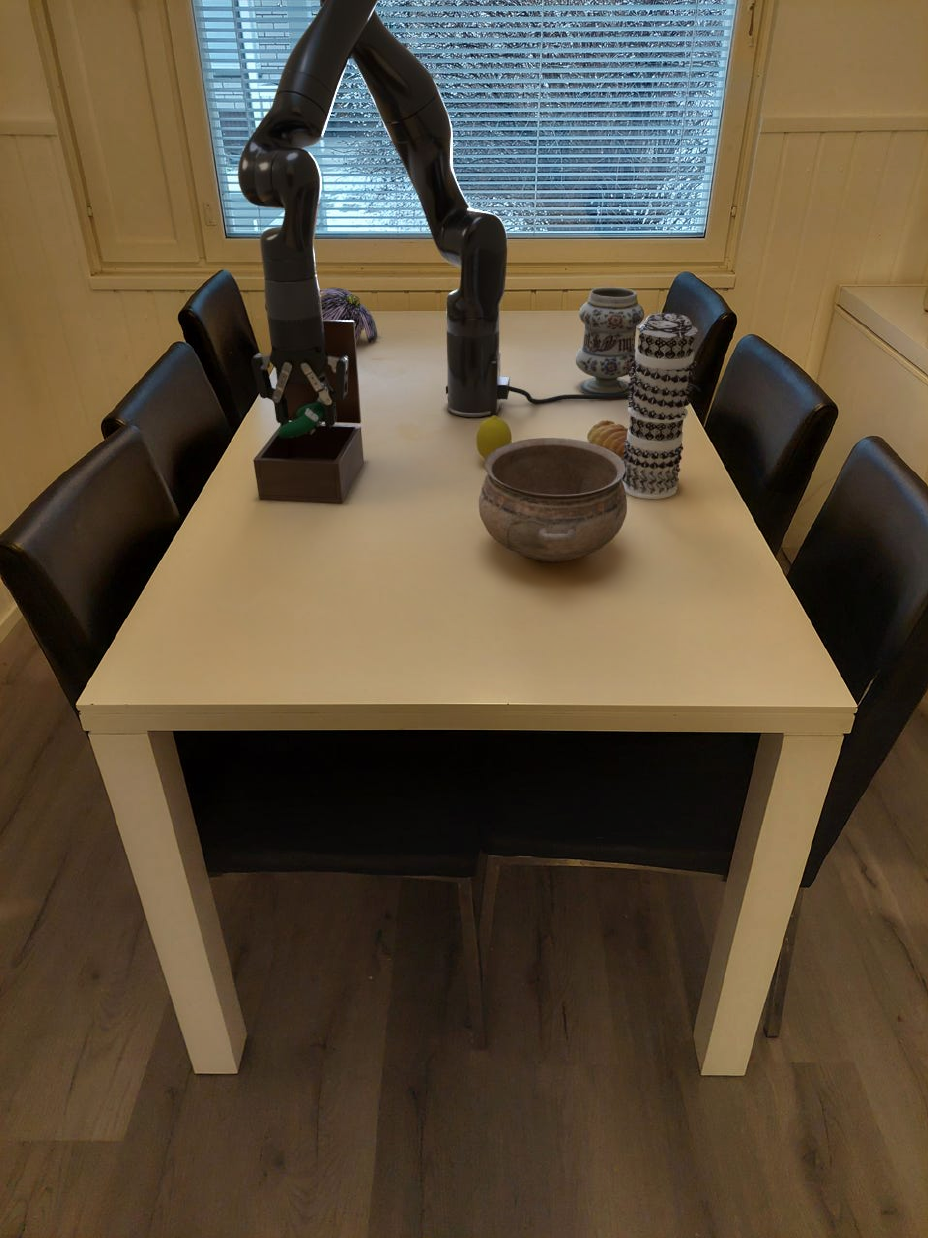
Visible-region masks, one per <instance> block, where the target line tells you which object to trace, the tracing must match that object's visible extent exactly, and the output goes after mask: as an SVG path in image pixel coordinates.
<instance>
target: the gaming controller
mask: <svg viewBox="0 0 928 1238" xmlns="http://www.w3.org/2000/svg"><path fill="white" fill-rule="evenodd" d="M323 405H324V402H323V400H322V398H321V397H320V396H319V398H318V399H317V400H316V402H315V403H313V404H309V405H305V406H303V407H301V408H300V409H299V410H298V411H297V413H296V415H297V417H298V419H295V420H293V421H289V422H288V423H286V424H285V425H283V426H282V427H281V428H280V429H279V430H278V431H279V437H280V438H282V439H286V438H293V437H297V436H300V435H303V434H305V433H307V434H308V433H310V432H311V433H310V434H312V433H313V432H314V431H315V429H314V430H313V428H314V427H315V426H316V425H318V426H317V427H319V426H320V425H321V424H323V422H320V421H321V419H322V418H323V417H324V410H323Z"/></svg>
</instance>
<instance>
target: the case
mask: <svg viewBox="0 0 928 1238" xmlns="http://www.w3.org/2000/svg"><path fill="white" fill-rule="evenodd" d="M317 426H318V425H316V426H315V427H314V428H313V430H314V429H315V431H314V432H313V433H312V434H310V433H311V432H310V433H308V434H307V433H305V434H303V435H300V436H297V437H293V438H286V439H282V438H280V437H279V431H278V430H279V429H280V428H281V425H280V424H279V427H278V428H277V429H276V430H275V431H274V433H273V434H272V436H271V437H270V438H268V441H267V442H266V443H265V444H264V445H263V447H262V448H261V449H260V450H259V452H258V453H257V455H256V456H255V457H254V458H253V460H252V461H253V467H254V468H253V469H254V474H255V480H256V487H257V494H258V499H259V500H268V501H288V502H306V503H307V502H308V503H309V502H310V503H329V504H330V503H331V504H343V503H344V501H345V499H346V498H347V496H348V493H349V492H350V489H351V488H352V486H353V484H354V482H355V480H356V478H357V476H358V474H359V472H360V470H361V469H362V467H363V465H364V463H365V462H364V461H365V460H364V447H363V435H362V434H363V433H362V425H360V424H359V425H358V424H336V423H335V424H334V425H333V426H332V428H331V429H326V428H325V423H322V424H321V425H320V426H319V427H317Z"/></svg>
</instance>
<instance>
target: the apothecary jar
mask: <svg viewBox="0 0 928 1238" xmlns="http://www.w3.org/2000/svg"><path fill="white" fill-rule="evenodd" d="M582 304H583V305H582V306H581V307H580V309H579V312H578V315H579V317H578V318H579V320H580V321H581V323H583V324H584V333H583V341H582V347H580V349H579V350H578V351H577V352H576V354H575V357H574V360H575V365H576V366H577V368H578V369H579V370H580V371H581V372H582V373H584V374H586V375H588V376H591V378H589V379H587V380H585V381H583V382H582V383H581V384H580V385H579V390H580V392H582V394H622V393H631V392H630V391H629V386H628V384H629V382H627V381H624V380H622V379H620V378H622V377H626V376H629V373H630V372H631V369H632V366H631V365H630V363H631V362H630V358H631V357H632V356H635V354H636V349H637V348H636V338H637V337H636V336H637V327H638V325H640V324H642V323H643V322H644V319H645V311H644V309H643V308H644V307H642V305H641V304H640V303H639V300H638V294H637V292H636V291H635V290H633V289H631V288H626V287H618V286H617V287H615V286H602V287H601V286H600V287H595V288H593V289H591V290H590V291H589V297H588V299H587V301H586V302H584V303H582ZM635 361H636V360H635ZM636 365H637V362H636Z"/></svg>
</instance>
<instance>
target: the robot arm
mask: <svg viewBox="0 0 928 1238" xmlns="http://www.w3.org/2000/svg"><path fill="white" fill-rule="evenodd" d="M319 1H320V3H321V5H322V6H321V7H320V9H319V11H318V12H317V13H316V15H315V17H314V18H313V20H312V21H311V22H310V24H309V25H308V26H307V28H306V30H305V31H304V32H303V34H302V35H301V36H300V38H299V39H298V41H297V43H295V46H294V47H293V49H292V51H291V53H290V54H289V57H288V58H287V60H286V62H285V64H284V67H283V70H282V72H281V76H280V79H279V82H278V85H277V87H276V91H275V95H274V98H273V101H272V105H271V107H270V108H269V110H268V111H267V112H266V114H265V115H264V116H263V118H262V119H261V121H260V122H259V124H258V125H257V127H256V129H255V130H254V132H253V133H252V135H251V136H250V138H249V139H248V141H247V142H246V144H245V146H244V148H243V150H242V152H241V154H240V158H239V161H238V166H237V180H238V186H239V189H240V191H241V193H242V195H243V197H244V198H245V199H246V200H247V201H248V202H249V203H250V204H252V205H254V206H257V207H262V208H272V209H273V208H274V209H284V214H283V215H284V216H283V220H282V224H281V225H280V226H279V225H278V226H275V227H270V228H268V229H266V230H264V231H263V232H262V233H261V234H260V238H259V243H260V245H259V246H260V255H261V263H262V270H263V271H262V272H263V277H264V278H263V279H264V300H265V301H264V308H265V311H266V316H267V317H266V318H267V327H268V333H269V340H270V347H271V351H270V353H265V354H263V353H262V352H257V353H256V354H255V355H254V356H253V357H252V358H250V359H251V360H250V364H251V367H252V372H253V376H254V379H255V383H256V387H257V391H258V394H259V397H260V398H261V399H268V400H271V401H272V403H273V405H274V406H273V407H274V414H275V421H276V422H277V424H279V426H280V425H281V427H282V426H283V425H285V424H286V423H288V422H290V421H289V414H288V405H287V399H285V398H284V395H285V393H286V390H287V388H288V385H289V384H298V383H302V384H305V385H311V384H312V386H313V387H314V389H315V391H316V392H318V393H319V395H320V397H321V398H322V400H323V402H324V405H323V410H324V420H325V422H324V424H325V428H326V429H331V428H332V426H333V425H334V424H335V425H336V420H337V414H336V402H337V401H342V400H343V399H344V397H345V396H346V394H347V390H348V365H349V359H348V357H347V356H346V355H343V356H341V357H334V356H329V354H328V352H327V350H326V348H325V338H324V328H323V317H322V306H321V296H322V295H321V294H320V291H321V289H320V284H319V281H318V274H317V273H318V272H317V263H316V255H315V254H316V253H315V236H316V230H317V221H318V215H319V208H320V204H321V202H320V201H321V197H322V184H323V183H322V173H321V171H320V168H319V165H318V163H317V161H316V159H315V158H314V156H313V155H312V154H311V153H310V152H309V151H308V150H306V149H305V148H307V147H311V146H314V145H316V144H317V143H319V142H320V141H321V139H322V138H323V136H324V133H325V130H326V128H327V125H328V121H329V118H330V116H331V113H332V109H333V106H334V104H335V103H334V102H335V99H336V96H337V93H338V90H339V87H340V84H341V81H342V79H343V76H344V74H345V70H346V68H347V66H348V63H349V61H350V59H351V58H352V60H353V62H354V63H355V65H356V68H357V70H358V72H359V73H360V75H361V78H362V80H363V81H364V84H365V87H366V88H367V90H368V93H369V94H370V96H371V98H372V101H373V102H374V105H375V107H376V110H377V112H378V115H379V117H380V120H381V121H382V123H383V126H384V129H385V130H386V132H387V134H388V136H389V139H390V141H391V142H392V144H393V146H394V149H395V150H396V152H397V154H398V156H399V158H400V160H401V163H402V165H403V167H404V170H405V172H406V174H407V176H408V178H409V180H410V182H411V184H412V186H413V189H414V190H415V193H416V195H417V197H418V199H419V202H420V205H421V208H422V210H423V213H424V216H425V219H426V223H427V225H428V229H429V231H430V234H431V237H432V239H433V242H434V245H435V247H436V250H437V251H438V253H439V255H440V256H441V258H442V259H443V260H444V261H445V262H446V263H448V264H449V265H451V266H453V267H456V268H459V269H460V279H459V280H460V281H459V282H460V283H459V287H458V289H455V290H452V291H451V292H449V293H448V294H447V296H446V298H445V318H446V320H445V322H446V323H445V326H446V375H447V377H446V378H447V383H446V384H447V385H446V386H445V395H446V396H447V404H446V405H447V407H446V408H447V411H448V412H449V413H451V414H453V415H456V416H460V417H465V418H466V417H468V418H480V417H486V416H494V415H495V416H497V415H498V412H499V409H500V404H501V400H508V398H509V394H510V392H512V393H515V394H519V395H521V396H524V397H525V398H526V400H527V401H528V402H529V403H531V404H534V405H542V404H551V403H555V402H558V401H563V400H616V399H628V397H629V396H630V393H631V392H630V393H622V394H585V393H581V394H580V393H577V394H576V393H575V394H574V393H573V394H572V393H570V394H569V393H568V394H560V395H555V396H551V397H547V398H539V399H538V398H533V397H532V395H531V394H530V393H529V392H528V391H526V390H524V389H522V388H519V387H514V386H510V378H511V377H510V376H501V352H500V329H501V327H500V326H501V325H500V323H501V322H500V321H501V302H502V300H503V297H504V294H505V289H506V279H507V264H508V263H507V262H508V234H507V230H506V226H505V225H504V222H503V221H502V219H501V218H500V217H499V216H498V215H496V214H494V213H491V212H488V211H483V210H480V209H474V208H472V207H471V206H470V205H469V203H468V202H467V200H466V198H465V196H464V194H463V192H462V190H461V187H460V185H459V183H458V181H457V178H456V175H455V171H454V167H453V127H452V123H451V119H450V116H449V112H448V111H447V107H446V106H445V103H444V101H443V98H442V96H441V93H440V90H439V88H438V86H437V84H436V81H435V80H434V78H433V76H432V74H431V73H430V71H429V70H428V69H427V68H426V67H425V65H424V64H423V63H422V62H421V61H420V60H419V59H418V58H417V57H416V56H415V54H413V52H411V51H410V50H409V49H408V48H407V47H406V46H405V45H404V44H403V43H402V42H400V41H399V39H397V37H396V36H394V35H393V34H392V33H391V31H389V29H388V28H387V27H386V26H385V24H384V22H383V21H382V20H381V18H380V17H379V14H378V13H377V12H376V9H375V8H376V6H377V4H378V2H379V0H319ZM327 364H329V365H331V367H332V371H333V372H334V373H336V391H333V389H332V387H331V386H330V384H329V380H328V378H327V376H326V375H325V373H324V369H325V368H326V366H327ZM271 365H272V366H273V367H274V368H275V370H276V369H277V371H278V372H279V373H280V376H279V379H278V381H277V380H276V384H275V388H274V387H273V386H272V382H271V378H270V373H269V370H268V369H269V368H270V366H271ZM321 376H322V377H321ZM687 385H689V386H690V387H691V388H693V392H696V393H700V392H701V389H700V388H699V386H697V385H695V384H694V383H691V382H688V384H687Z"/></svg>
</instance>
